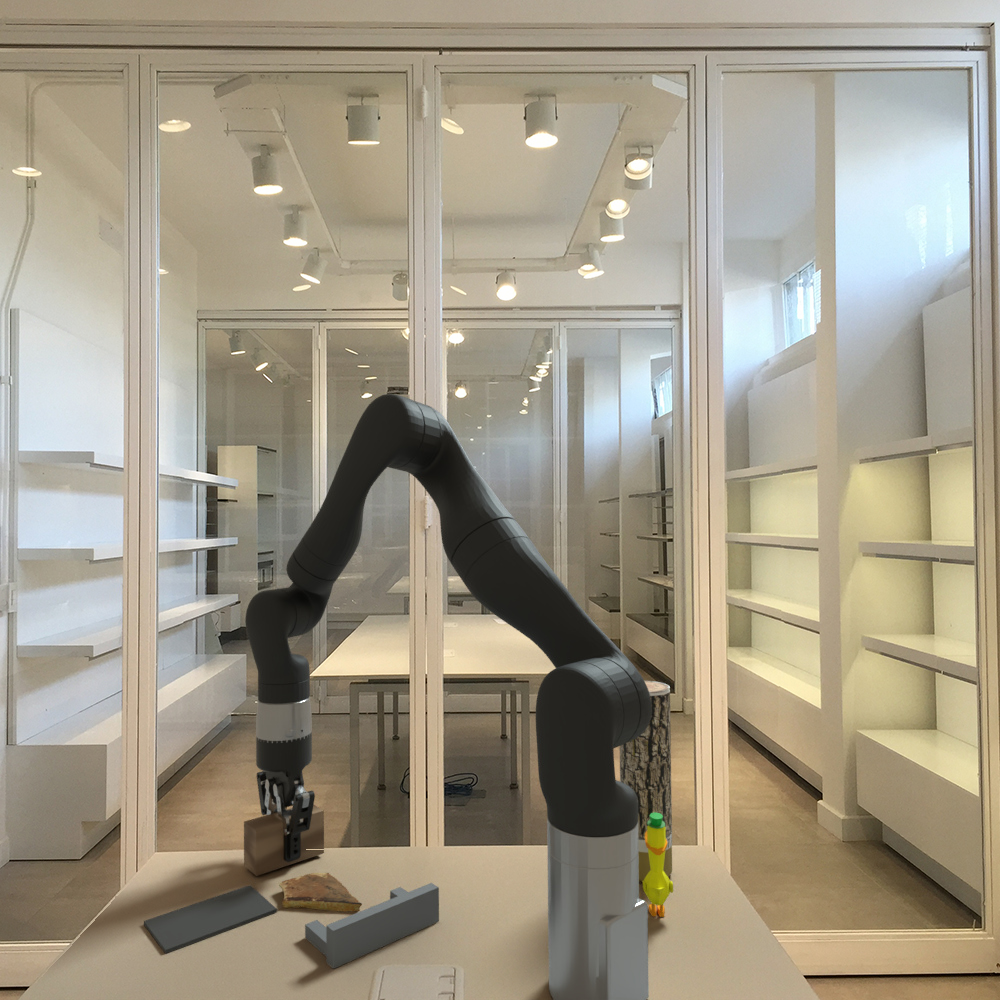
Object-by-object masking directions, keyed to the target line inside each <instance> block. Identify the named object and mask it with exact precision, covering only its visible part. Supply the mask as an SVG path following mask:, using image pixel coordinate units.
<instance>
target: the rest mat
mask: <svg viewBox="0 0 1000 1000" xmlns="http://www.w3.org/2000/svg"><path fill="white" fill-rule="evenodd" d="M277 910H278V909H277V908H276V907H275V906H274V905H273V904H272V903H271V902H270V901H269V900H268V899H266V897H264V896H263V895H262V894H261V893H260V892H259V891H258V890H257V889H255V888H254V887H253V885H251V884H249V885H245V886H243V887H239V888H237V889H233V890H231V891H228V892H225V893H222V894H218V895H217V896H213V897H211V898H208V899H205V900H202V901H199V902H196V903H193V904H190V905H187V906H184V907H181V908H178V909H174V910H173V911H170V912H166V913H164V914H160V915H157V916H155V917H152V918H149V919H146V920H143V925H144V927H145V929H146V930H147V931H148V932H149V934H150V935H151V936H152V937H153V939H154V940H155V942H156V943H157V944H158V945H159V947H160V948H161V950H162V951H163V952H164V953H165V954H168V953H171V952H173V951H176V950H179V949H182V948H185V947H186V946H187V947H188V946H190V945H192V944H195V943H197V942H201V941H202V940H205V939H208V938H212V937H214V936H216V935H219V934H222V933H224V932H226V931H230V930H233V929H235V928H238V927H240V926H244V925H246V924H249V923H251V922H254V921H257V920H259V919H262V918H265V917H267V916H270V915H273V914H275V913H278V911H277Z"/></svg>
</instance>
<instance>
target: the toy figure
mask: <svg viewBox="0 0 1000 1000" xmlns="http://www.w3.org/2000/svg"><path fill="white" fill-rule="evenodd" d="M662 819H663V815H662V814H661V813H656V812H655V813H651V814H650V820H649V821H648V822H647V824H648V826H647V831H646V833H645V843H646V847H647V848H648V854H649V861H650V869H651V870H650V871H649V873H648V874H647V876H646V877H645V879H644V880H643V882H642V891H643V892H644V894H645V895H646V897H647V898H648V900H649V902H650V904H648V913H650V916H651V917H657V915H658V916H659V917H660V918H664V917H665V912H666V908H665V905H664V904H665V902H666V901H667V899H668V898H669V896H670V894H672V893H674V883H673V882H674V881H672V880H671V879H670V878H669V877H668V876H667V875H666V874H665V872H664V871H663V868H664V859H665V850H666V848H667V843H668V842H667V840H666V827H665V822H664V821H662Z"/></svg>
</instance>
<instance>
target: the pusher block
mask: <svg viewBox="0 0 1000 1000" xmlns="http://www.w3.org/2000/svg"><path fill="white" fill-rule="evenodd" d="M288 809H292V807H291V808H287V810H288ZM324 813H325V811H324V809H322V808H320V807H318V805H317V806H316V805H315V804H314V805H313V811H312V816H311V822H310V828H309V830H306V831H303V832H301V856H300V858H299V859H297V860H294V861H291V862H286V861H285V860H284V832H283V822H282V818H280V817H279V816H278V812H276V813H274V814H269V815H262V816H259V817H256V818H251V819H248V820H244V821H243V867H244V868H246V869H247V870H248V871H249V872H250V873H252V874H253V875H255V877H258V876H261V875H263V874H266V873H270V872H272V871H276V870H279V869H281V868H284V867H287V866H290V865H293V864H296V863H299V862H302V861H306V860H308V859H311V858H314V857H317V856H320V855H323V854H325V814H324ZM290 820H291V816H290V817H289V824H290ZM306 849H324V850H306Z"/></svg>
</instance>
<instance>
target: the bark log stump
mask: <svg viewBox="0 0 1000 1000" xmlns="http://www.w3.org/2000/svg"><path fill="white" fill-rule="evenodd" d="M644 681H645V683H646V686H647V688H648V690H649V693H650V697H651V703H652V714H651V720H650V723H649V725H648V727H647V729H646V730H645V731H644V732H643V733H642V734H641V735H640V736H639V737H637V738H635V739H634V740H632V741H630V742H627V743H625V744H623V745H621V746H619V781H620V782H622V783H624V784H626V785H628V786H629V787H631V788H632V789H633V790H634V792H635V793H636V796H637V800H638V847H639V849H638V855H639V883H640V882H641V883H643V880H644V879H645V877H646V876H647V874H648V873H649V871H650V870H651V869H650V861H649V854H648V848H647V847H646V843H645V833H646V831H647V826H648V824H647V822H648V821H649V820H650V814H651V813H655V812H656V813H661V814H662V815H663V819H662V821H664V822H665V827H666V840H667V842H668V843H667V848H666V850H665V859H664V868H663V871H664V872H665V874H666V875H667V876H668V878H669V877H671V875H672V872H673V822H672V821H673V817H672V814H673V812H672V810H673V809H672V808H673V807H672V805H673V804H672V802H673V801H672V800H673V799H672V746H671V745H672V741H671V740H672V739H671V737H672V736H671V735H672V734H671V729H672V728H671V727H672V726H671V690H670V688H671V687H670V685H669V684H666V683H665V682H659V681H652V680H644Z"/></svg>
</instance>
